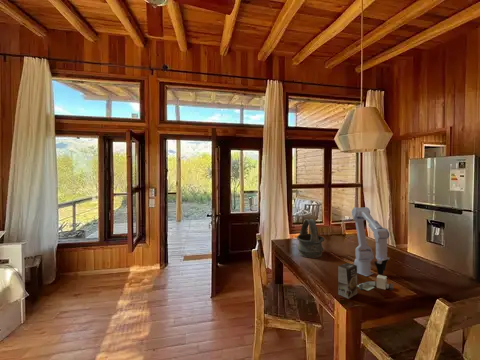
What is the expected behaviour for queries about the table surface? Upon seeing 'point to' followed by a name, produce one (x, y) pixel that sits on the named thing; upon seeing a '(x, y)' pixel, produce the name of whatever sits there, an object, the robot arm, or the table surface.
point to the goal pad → (367, 287)
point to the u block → (381, 281)
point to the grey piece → (373, 283)
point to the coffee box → (347, 280)
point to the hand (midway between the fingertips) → (381, 272)
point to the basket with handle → (310, 240)
